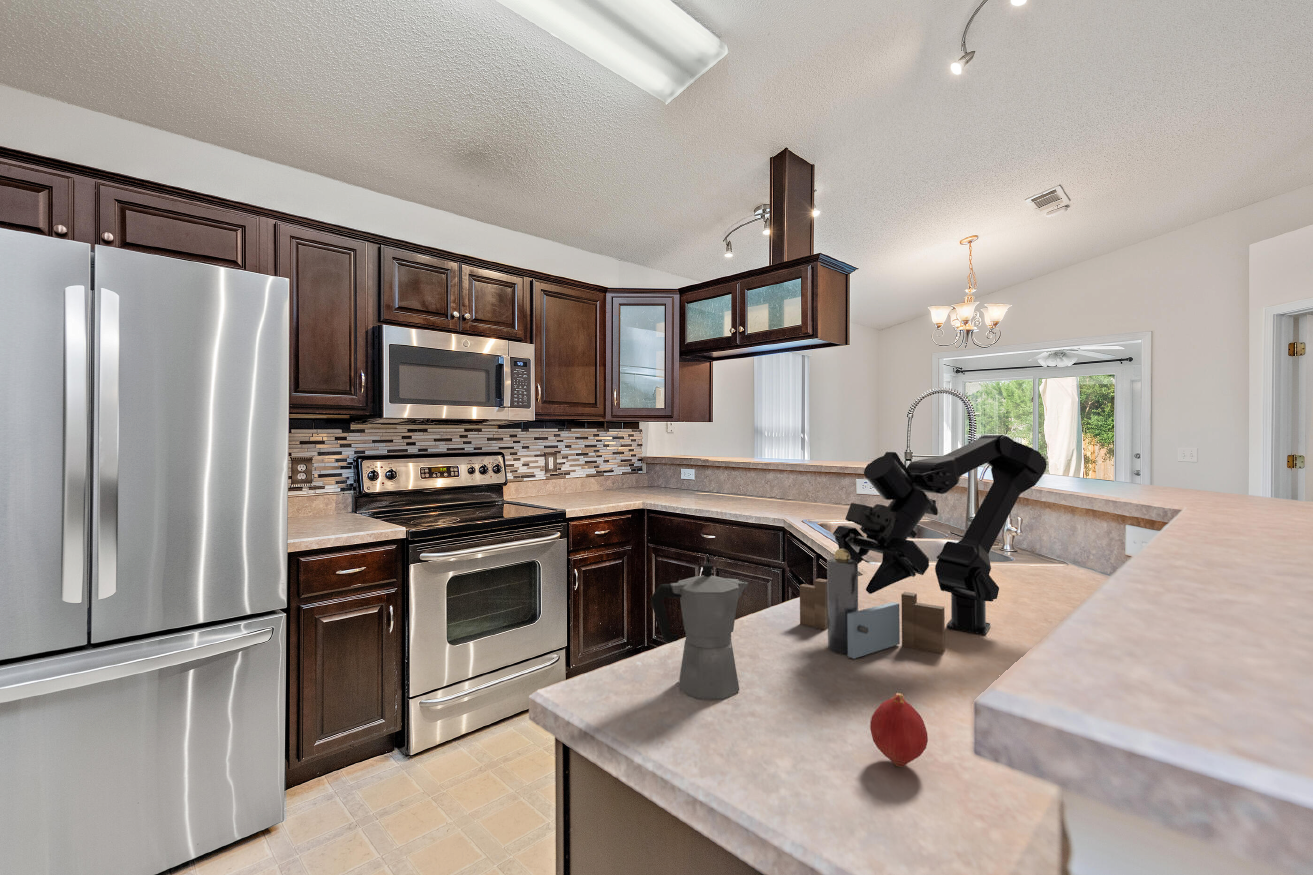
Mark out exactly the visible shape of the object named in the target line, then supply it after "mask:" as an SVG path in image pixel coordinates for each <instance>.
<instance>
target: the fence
mask: <svg viewBox="0 0 1313 875" xmlns="http://www.w3.org/2000/svg"><path fill="white" fill-rule="evenodd" d="M917 594H918V593H916V592H909V591H903V592H902V593H901V595H900V597H901V598H900V599H901V647H905V648H910V649H915V650H920V651H925V652H926V651H927V652H931V653H935V654H940V655H944V653H946V652H945V651H946V644H945V642H946V639H945V638H946V636H945V635H946V631H945V629H946V628H945V627H946V626H945V625H946V624H945V623H946V622H945V621H946V620H945V619H946V618H945V606H943V605H942V606H941V605H937V604H929V603H922V602H919V601H917V600H918V595H917ZM799 625H802V626H807V627H810V628H811V627H812V628H815V629H818V630H824V631H826V630H828V602H827V579H825V578H816V579H815V580H814V585H810V584H806V583H803V584H800V585H799Z"/></svg>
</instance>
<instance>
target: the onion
mask: <svg viewBox="0 0 1313 875" xmlns="http://www.w3.org/2000/svg"><path fill="white" fill-rule="evenodd" d="M869 727H870V734H871V737H872V742H873V743H874V745H875V746H876V748H877V749H878V750H879V751H880V752H881V753H882V755H884V757H886V758H887V759H888V760H889V761H891V762H892V764H893V765H894V766H897V767H899V768H901V767H905V766H906V765H908V764H909V763H911V762H912V761H914V760H916V759H918V758H919V757H921V755H922V754H923V753H924V751H925V750H926V749H927V746H928V741H929V737H928V731H927V728H926V724H925V721H924V720H923V717H922V716H921V715H920V713H919V712H918V711H917V710H916V709H915V708H914V707H913V706H912V705H911V704H910V702H908V701H906V700H905V698H904V695H903V694H902V693H900V692H899V693H898V692H896V693H895V694H894V696H893V697H891V698H888V699H887V700H885V701H883V702H882V703H880V705H879V706H878V707H877V708H876V709H875V711H874V712H873V714H872V715H871V719H870V724H869Z"/></svg>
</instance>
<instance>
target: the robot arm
mask: <svg viewBox="0 0 1313 875" xmlns="http://www.w3.org/2000/svg"><path fill="white" fill-rule="evenodd" d="M985 464H987V465H988V466H990V467H991V468H990V472H991V475H992V481H993V482H992V484H991V486H990V488H989V489H988V492H986V495H985V497H984V498H983V500H982V502H981V504H980V506H979V508H978V510H977V512H976V513H975V515H974V517H973V519H972V520H971V522H970V524H969V525H968V528H966V531H965V533H964V534H963V537H962V539H961V540H959V541H957V542H953V541H950V540H949V541H946V542H945V543H944V545H943V547H942V549H941V552H939V554H938V555H936V559H937V561H936V563H935V565H934V566H935V567H934V572H935V575H936V579H937V583H938V586H939V589H940V591H942V592H947V593H950V596H951V597H950V601H951V602H950V603H951V604H950V607H951V608H950V609H951V610H950V612H951V613H950V614H951V615H950V617H951V618H950V620H949V621H948V622H947V623H946V624H945V625H946V626H945V627H946V628H947V629H952V630H958V631H963V632H968V633H974V634H979V635H986V634H987V632H988V631H989V629H990V627H991V623H990V622H987V620H986V618H987V617H986V616H987V614H986V610H987V609H986V606H987V605H986V604H987V603H986V602H994V600H997V599H998V595H999V591H1000V587H999V586H998V584H997V582H996V581H995V580H994V579H993V578H992V576H990V574H991V573H990V572H991V570H992V566H991V560H990V556H989V554H990V552H991V550H992V548H993V546H994V543H996V540H997V538H998V536H999V534H1000V533H1001V530H1002V529H1003V528H1004V525H1005V523H1006V521H1007V520H1008V518H1009V516H1010V514H1011V512H1012V510H1013V508H1014V507H1015V505H1016V503H1017V500H1018V499H1019V497H1020V495H1021V494H1023V493H1024V492H1027V491H1028V490H1029V489H1031V488H1033V487H1035V486H1036V485H1037V483H1038V482H1039V481H1040V479H1042V477H1043V475H1044V473H1045V472H1046V471H1047V460H1046V458H1045V457H1044V456H1043V455H1042V454H1041V452H1040V451H1039V450H1036V449H1034V448H1032V447H1031V446H1028V445H1025V444H1023V443H1021V442H1018V441H1015V440H1013V439H1012V438H1011V437H1009V436H1008V435H1004V434H984V435H982V436H979V437H978V439H975V440H974V441H971V442H970V443H967V444H965V445H963V446H962V447H960V448H959V447H958V448H957V449H955V450H953V451H951V452H948V453H946V454H944V455H943V456H938V457H937V456H935V457H927V458H923V459H918V460H917V459H916V460H913V461H911V462H910V463H908V464H907V466H906V465H905V464H904V463H903V461H902V460H901V458H900V456H899V454H897V452H896V451H886V452H885V453H884V454H883V456H882V455H881V456H879V457H877V458H875V459H873V460H872V461H871V462H870V463H868V464H867V465H866V467H865V468H864V471H863V475H864V477H865V478H866V480H867V481H868V482H869V483H870V485H871V486H872V487H873V488H874V489H875V490H876V492H877V493H878V494H879V495H880V496H881V498H882V499H884V500H887V501H890V502H889V504H888V505H887V506H886V505H884V504H880V503H879V504H878V503H877V504H875V505H874V506H873V507H872V506H869V505H866V504H862V503H861V504H860V503H854V502H850V504H849V508H848V510H847V513H846V515H845V520H846V521H847V522H849V523H850V522H852V523H853V524H856V525H858V526H860V528H859V529H857V528H856V527H852V526H849V525H846V524H845V525H843V524H842V525H837V527H836V529H835V530H834V531H833V533H832V535H833V536H834V539H835V542H836V543H837V545H838V549H846V550H847V551H848V552H849V553H850V559H851V560H855V561H857V562H858V565H859V564H860V563H862V562H863V561H864V558H863V557H864V556H866V555H868V554H869V552H871V551H872V552H875V553H879V554H882V561H881V563H880V564H879V567H878V568H877V569H876V571H874V572H875V573H874V574H873V576H872V577H871V578H870V580H869V581H868V584H867V586H866V588H865V592H867V593H868V595H872V594H874V593H876V592H878V591H880V590H882V589H885V588H887V587H888V586H891V585H892V584H895V583H897V582H900V581H902V580H905V579H907V578H911V577H912V578H915V577H916V575H921V576H924V575H925V573H926V571H928V569H929V568H930V558H929V557H928V556H927V555H926V553H925V552H923V550H922V549H921V548H920V547H919V546H918V545H917V544H916V543H915V541H913V540H909V539H908V538H911V539H915V538H916V536H917V535H918V534H917V532H916V531H915V528H916V527H917V526H918V524H919V523H920V521H921V520H922V519H923V517H924V516H925V515H926V514H928V515H931V516H938V513H939V510H938V507H937V504H936V502H937V501H936V499H932V498H929V496H928V495H927V493H928V494H929V493H931V494H936V495H937V494H938V495H940V494H941V495H943V494H946V493H948V492H950V491H951V490H952V489H953V488H955V487H956V486H957V485H958V484H959V482H960V478H961V477H962V476H963V475H965V474H968V473H969V472H971V471H973V470H974V469H978V468H979V467H981V466H983V465H985ZM859 530H860V531H861V532H862V533H863V534H865V535H866V537H865V536H864V535H863V534H862V533H861V532H860V531H859Z"/></svg>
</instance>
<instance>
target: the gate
mask: <svg viewBox="0 0 1313 875" xmlns="http://www.w3.org/2000/svg"><path fill="white" fill-rule="evenodd" d="M900 620H901V619H900V603H899V602H895V601H892V602H891V601H890V602H886V603H884V604H880V605H875V606H872V607H869V608H864V609H861V610H860V609H859V610H858V611H856V612H852V613H848V614H847V622H848V655H847V657H849V658H851V659H853V660H854V659H857V658H860V657H863V656H867V655H869V654H873V653H876V652H878V651H882V650H885V649H888V648H891V647H894V646H899V645H901V644H900V643H901V642H900V641H901V640H900V639H901V633H900V632H901V631H900V630H901V629H900Z"/></svg>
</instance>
